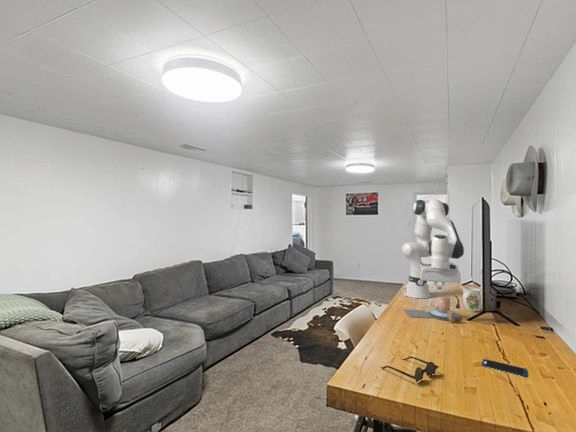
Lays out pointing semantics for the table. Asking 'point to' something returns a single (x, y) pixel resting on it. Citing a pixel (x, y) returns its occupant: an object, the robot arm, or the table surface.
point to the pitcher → (471, 298)
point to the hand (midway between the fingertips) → (439, 289)
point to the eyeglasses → (418, 369)
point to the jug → (443, 304)
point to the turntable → (450, 314)
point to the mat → (417, 313)
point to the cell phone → (505, 367)
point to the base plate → (443, 318)
